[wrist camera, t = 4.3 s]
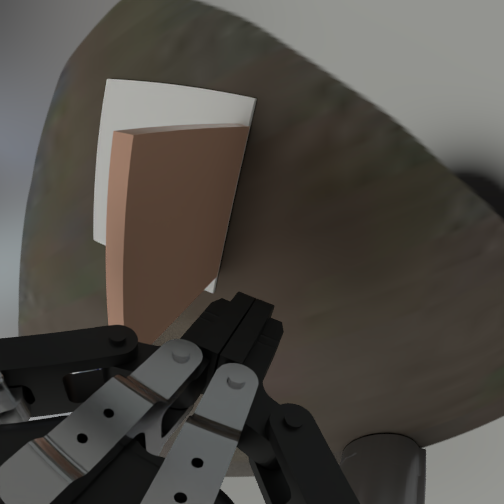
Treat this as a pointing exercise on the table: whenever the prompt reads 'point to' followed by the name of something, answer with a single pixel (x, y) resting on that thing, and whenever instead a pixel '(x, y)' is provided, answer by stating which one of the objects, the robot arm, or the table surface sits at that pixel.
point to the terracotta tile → (167, 219)
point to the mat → (158, 124)
